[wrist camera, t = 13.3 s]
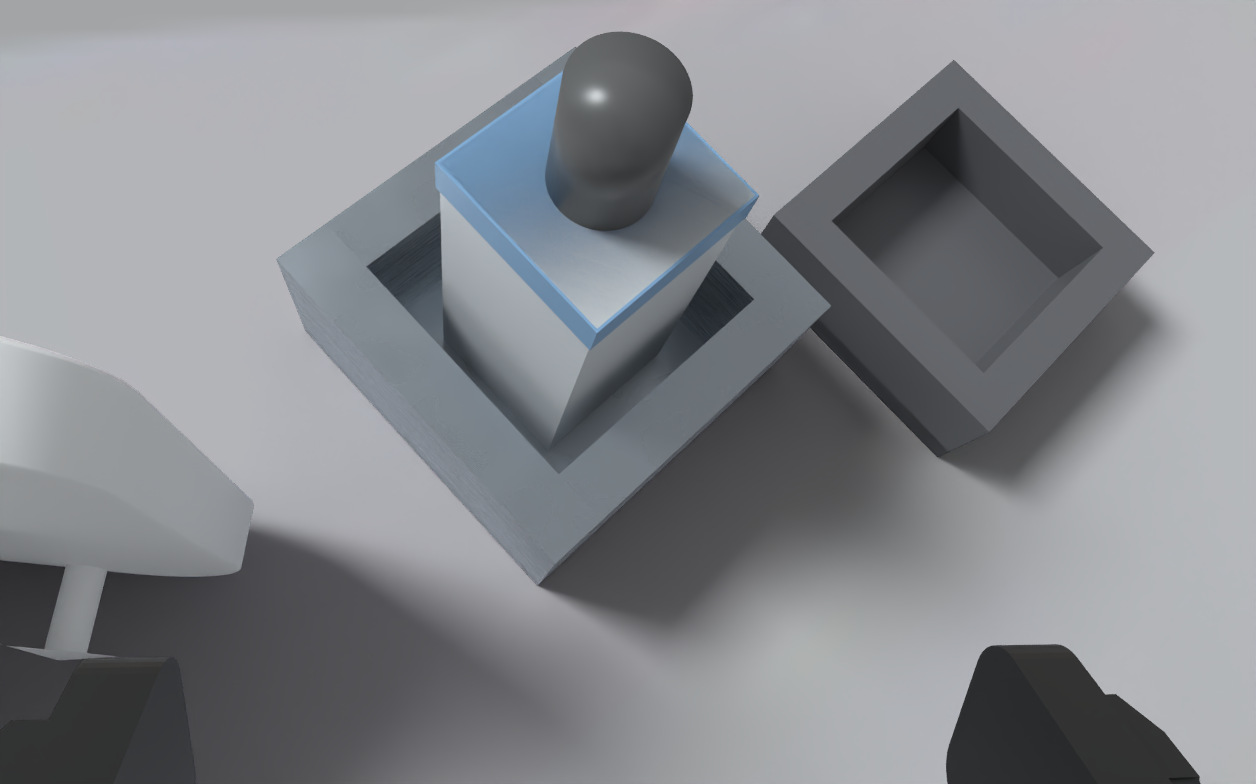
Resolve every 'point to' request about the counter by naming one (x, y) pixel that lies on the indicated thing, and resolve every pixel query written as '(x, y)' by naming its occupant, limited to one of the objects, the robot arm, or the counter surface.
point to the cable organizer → (103, 488)
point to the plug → (581, 231)
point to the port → (473, 414)
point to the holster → (953, 259)
